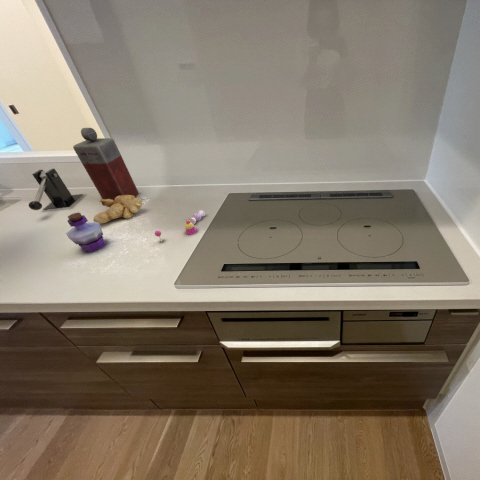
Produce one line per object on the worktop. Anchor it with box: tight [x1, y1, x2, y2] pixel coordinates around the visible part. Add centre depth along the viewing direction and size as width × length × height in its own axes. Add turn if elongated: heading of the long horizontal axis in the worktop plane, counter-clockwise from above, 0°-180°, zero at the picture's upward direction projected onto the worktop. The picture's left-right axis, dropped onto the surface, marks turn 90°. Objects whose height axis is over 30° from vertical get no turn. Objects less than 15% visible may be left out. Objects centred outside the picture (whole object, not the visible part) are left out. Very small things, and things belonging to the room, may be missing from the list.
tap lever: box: [28, 170, 50, 211], centre depth 96 cm, size 17×3×3 cm, turn 13°
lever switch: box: [31, 168, 84, 211], centre depth 102 cm, size 11×9×14 cm
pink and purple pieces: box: [154, 209, 206, 242], centre depth 88 cm, size 18×8×6 cm, turn 163°
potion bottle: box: [65, 212, 106, 253], centre depth 79 cm, size 9×9×12 cm
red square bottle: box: [72, 127, 140, 200], centre depth 100 cm, size 9×11×28 cm
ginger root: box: [92, 195, 143, 224], centre depth 97 cm, size 16×16×8 cm
